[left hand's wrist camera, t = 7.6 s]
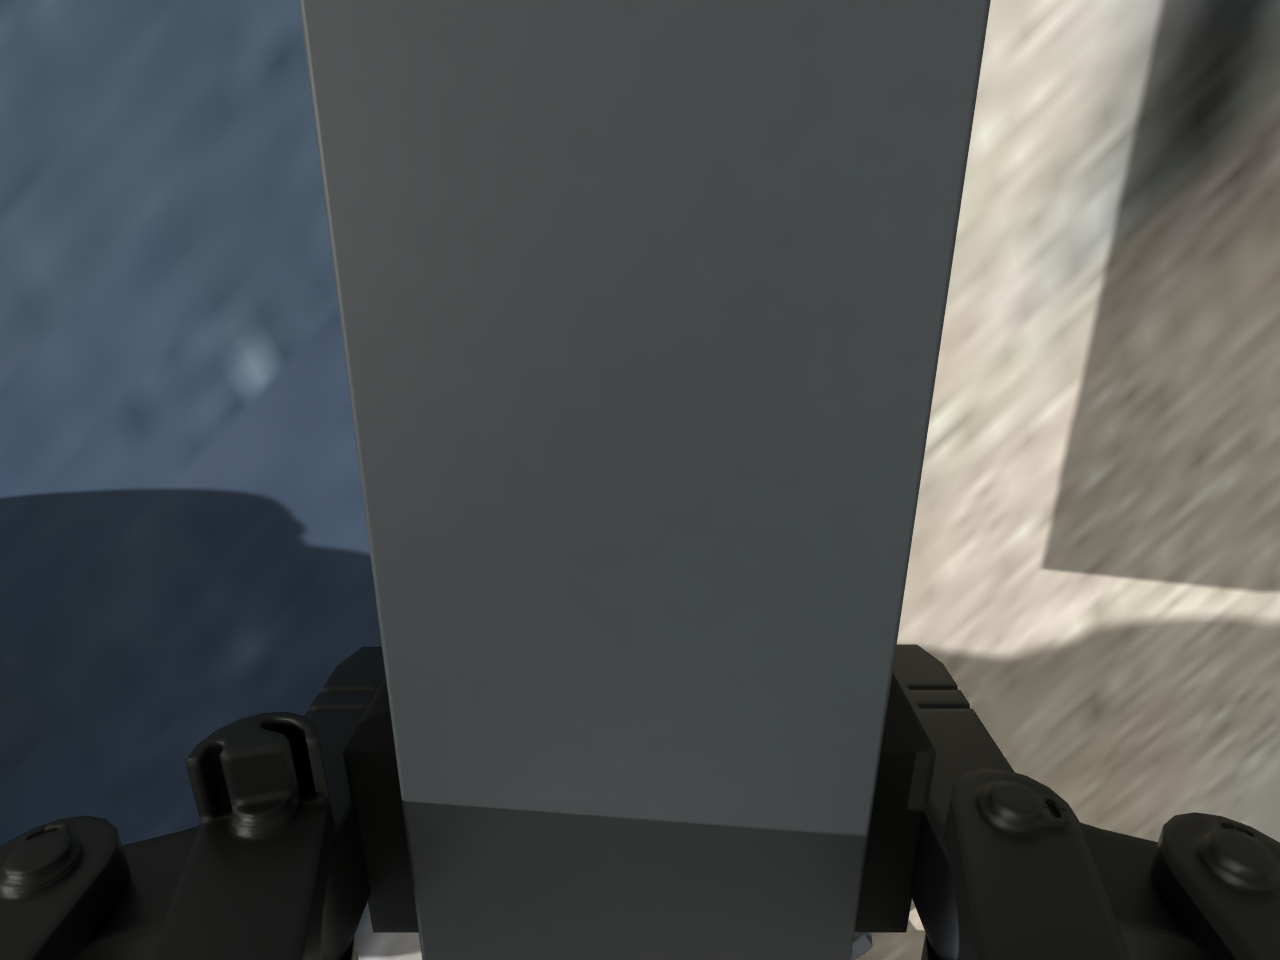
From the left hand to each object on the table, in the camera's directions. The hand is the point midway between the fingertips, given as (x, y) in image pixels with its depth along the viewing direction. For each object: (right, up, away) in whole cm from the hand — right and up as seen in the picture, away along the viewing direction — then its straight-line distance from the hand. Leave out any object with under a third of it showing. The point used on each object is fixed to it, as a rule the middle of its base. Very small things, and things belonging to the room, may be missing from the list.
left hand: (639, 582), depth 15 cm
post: (0, +33, -12) cm, 35 cm away
